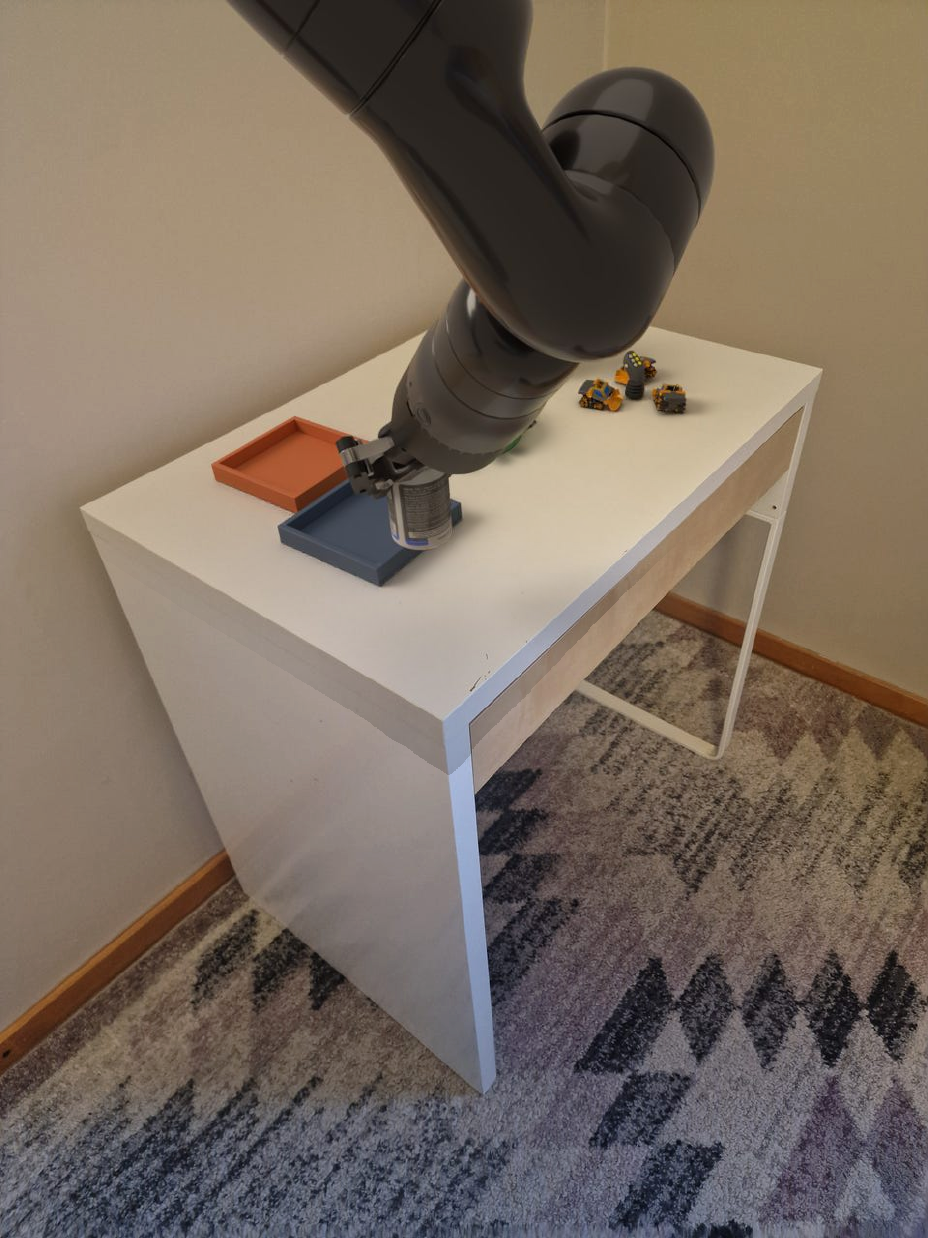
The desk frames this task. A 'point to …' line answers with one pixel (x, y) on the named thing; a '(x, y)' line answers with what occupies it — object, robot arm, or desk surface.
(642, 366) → the toy set
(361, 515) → the blue tray
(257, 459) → the orange tray
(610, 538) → the desk surface
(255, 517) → the desk surface
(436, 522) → the pill bottle
